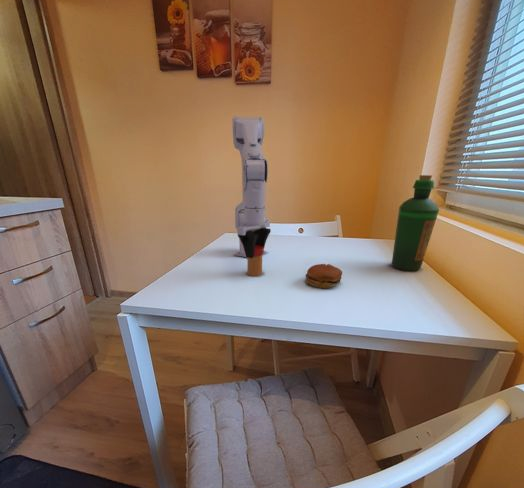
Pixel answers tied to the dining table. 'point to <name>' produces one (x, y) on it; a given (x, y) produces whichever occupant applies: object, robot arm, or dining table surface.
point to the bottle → (415, 226)
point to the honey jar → (254, 266)
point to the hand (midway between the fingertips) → (254, 255)
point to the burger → (323, 276)
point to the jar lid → (258, 250)
